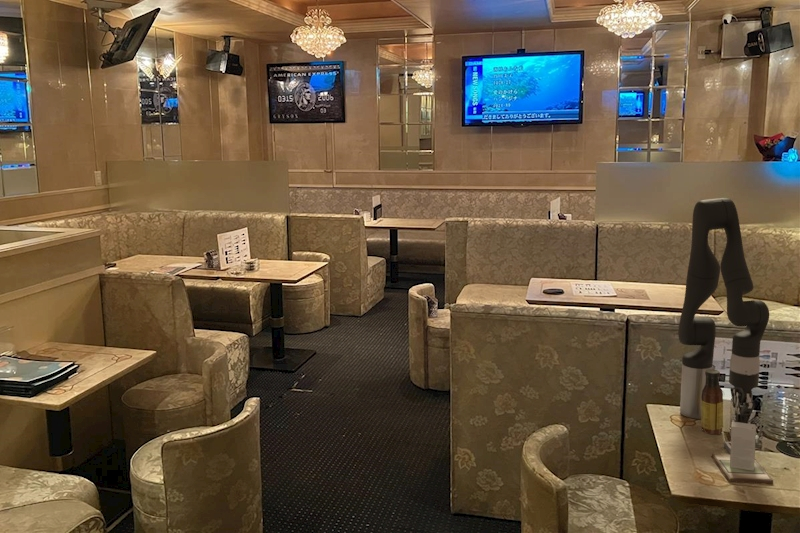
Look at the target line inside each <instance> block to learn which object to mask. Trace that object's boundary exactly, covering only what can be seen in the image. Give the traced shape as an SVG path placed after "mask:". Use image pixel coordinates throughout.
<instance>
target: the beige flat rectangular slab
mask: <svg viewBox="0 0 800 533" xmlns="http://www.w3.org/2000/svg"><path fill="white" fill-rule="evenodd" d="M710 458H711V459H712V460H713V462H714V464H716V466H717V467H718V469H719V470H720V471H721V473H722V474H723V476H724V477H725V478H726V481H728V483H739V484H740V483H741V484H742V483H743V484H747V483H748V484H766V485H768V484H770V485H774V479H773V478H772V477H771V476H770V475H769V474H768V472H767V471H766V470H765V468H763V466H762V465H761V464H760V463H759V461H758V460H757V459H756V458H755V462H754V471H750V470H744V469H737V468H731V467H730V454H728V453H727V454H726V453H711V456H710Z"/></svg>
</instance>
